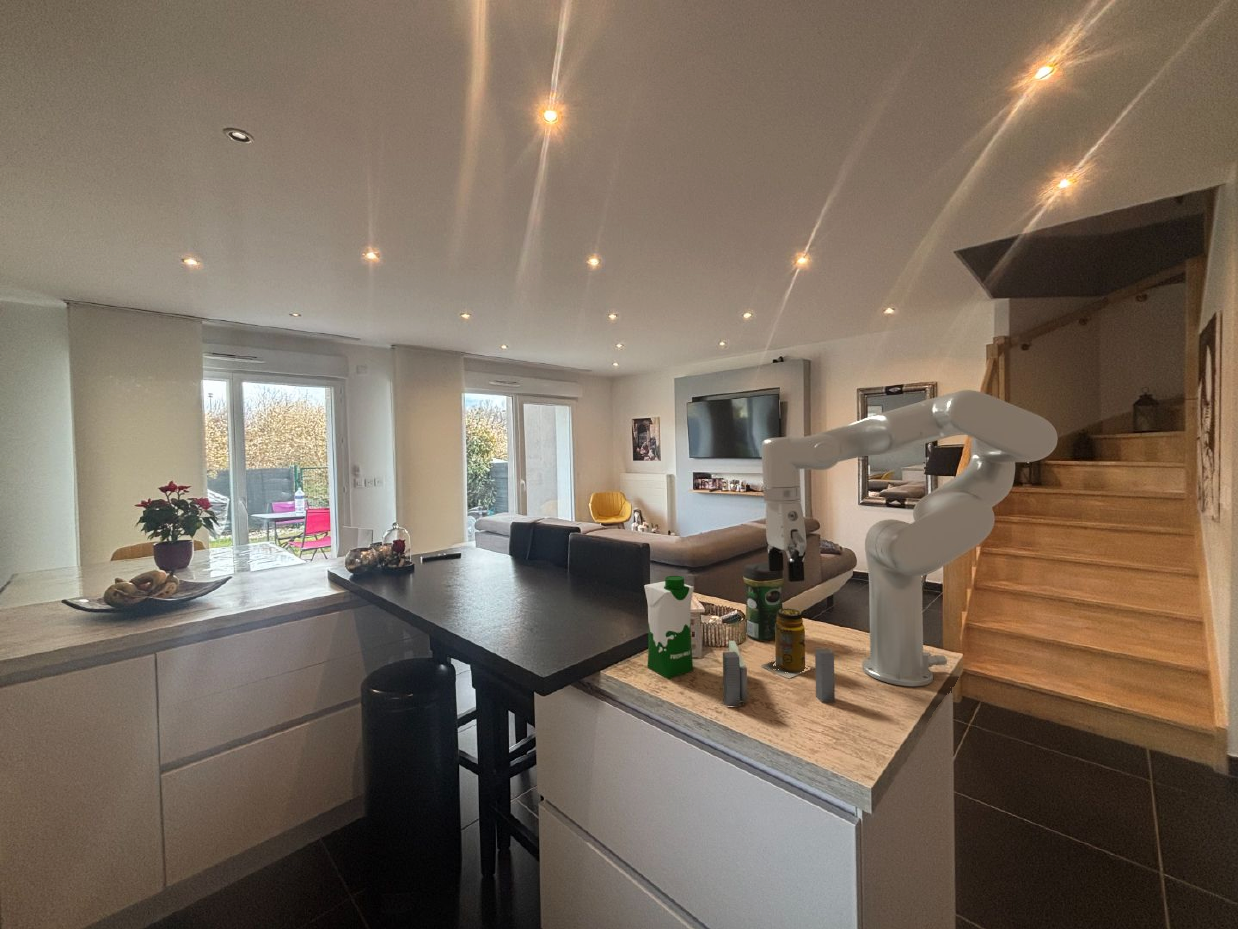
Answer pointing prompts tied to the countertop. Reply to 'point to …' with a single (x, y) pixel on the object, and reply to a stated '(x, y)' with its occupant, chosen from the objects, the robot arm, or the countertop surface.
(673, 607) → the milk carton
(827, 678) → the gate posts
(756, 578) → the coffee jar
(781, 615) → the condiment
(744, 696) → the panel
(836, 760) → the countertop surface
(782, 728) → the countertop surface
